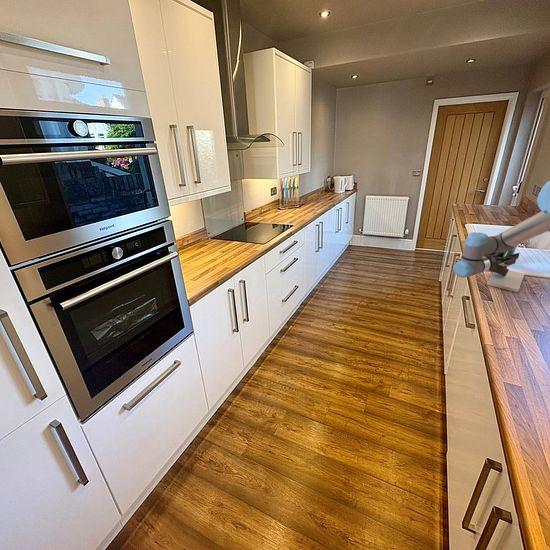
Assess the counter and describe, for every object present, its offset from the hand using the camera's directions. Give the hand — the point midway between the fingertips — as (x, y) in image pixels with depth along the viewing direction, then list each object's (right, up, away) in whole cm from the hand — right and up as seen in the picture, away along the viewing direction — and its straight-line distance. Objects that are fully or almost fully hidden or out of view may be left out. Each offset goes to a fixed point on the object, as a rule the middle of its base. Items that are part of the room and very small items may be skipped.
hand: (513, 254), depth 142 cm
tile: (-5, -13, -1) cm, 13 cm away
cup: (+8, -3, +18) cm, 20 cm away
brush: (-8, -9, 0) cm, 12 cm away
